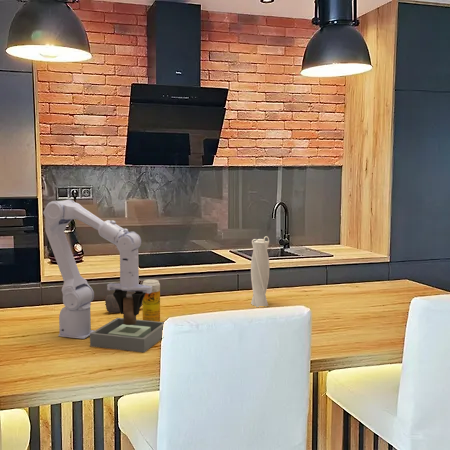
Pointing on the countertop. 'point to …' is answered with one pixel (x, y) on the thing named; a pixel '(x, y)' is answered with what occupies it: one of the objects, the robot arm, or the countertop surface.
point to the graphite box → (125, 342)
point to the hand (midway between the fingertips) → (129, 313)
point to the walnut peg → (128, 311)
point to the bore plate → (131, 331)
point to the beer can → (152, 301)
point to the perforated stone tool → (113, 303)
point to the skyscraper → (259, 271)
